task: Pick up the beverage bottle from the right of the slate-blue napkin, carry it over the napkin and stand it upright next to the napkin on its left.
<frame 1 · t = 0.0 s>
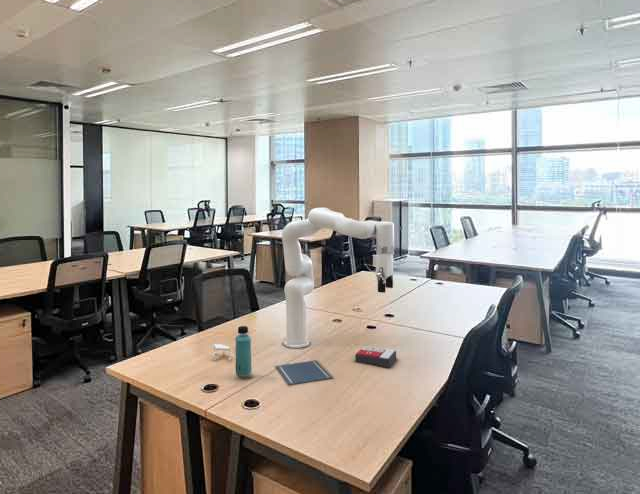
hand: (385, 289, 183), 31 cm above the table, tool pointing down, fingers open, 9 cm apart
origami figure: (222, 358, 189), on the table
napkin: (303, 372, 174), on the table
black buttoned block: (376, 360, 186), on the table
beverage bottle: (243, 377, 170), on the table
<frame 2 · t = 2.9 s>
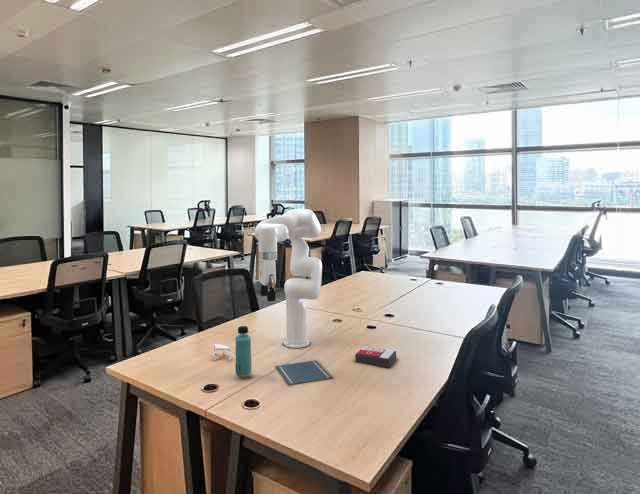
hand: (267, 298, 172), 31 cm above the table, tool pointing down, fingers open, 9 cm apart
nothing on the table moved.
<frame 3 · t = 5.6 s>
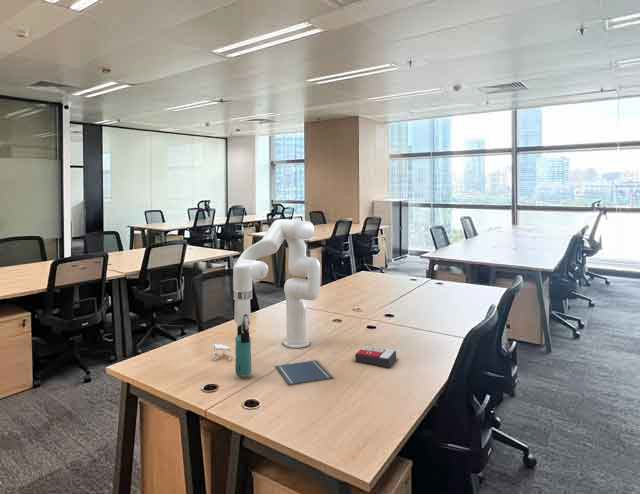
hand: (243, 339, 170), 15 cm above the table, tool pointing down, fingers closed on beverage bottle, 6 cm apart
beverage bottle: (243, 377, 170), on the table, touching gripper
everything else where it was.
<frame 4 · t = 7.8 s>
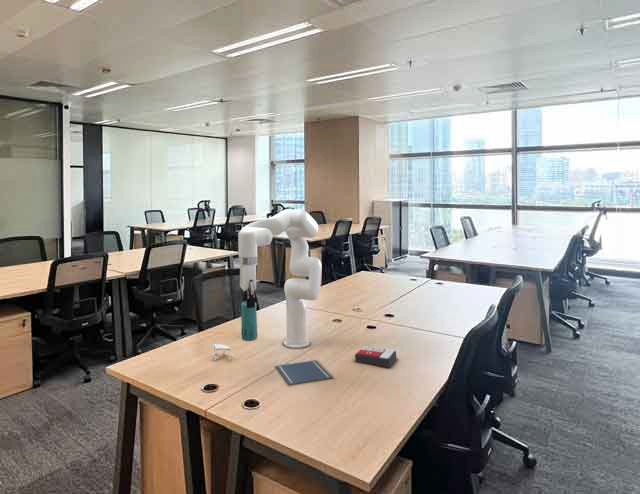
hand: (248, 304, 171), 29 cm above the table, tool pointing down, fingers closed on beverage bottle, 6 cm apart
beverage bottle: (249, 342, 171), point 13 cm above the table, touching gripper
everything else where it was.
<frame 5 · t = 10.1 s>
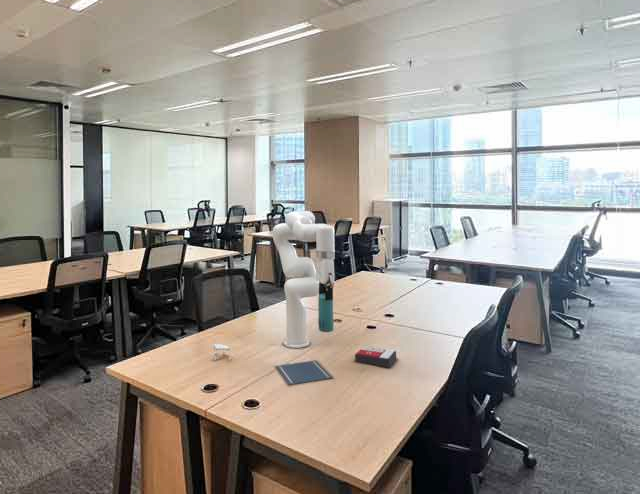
hand: (325, 297, 178), 30 cm above the table, tool pointing down, fingers closed on beverage bottle, 6 cm apart
beverage bottle: (326, 334, 178), point 14 cm above the table, touching gripper
everything else where it was.
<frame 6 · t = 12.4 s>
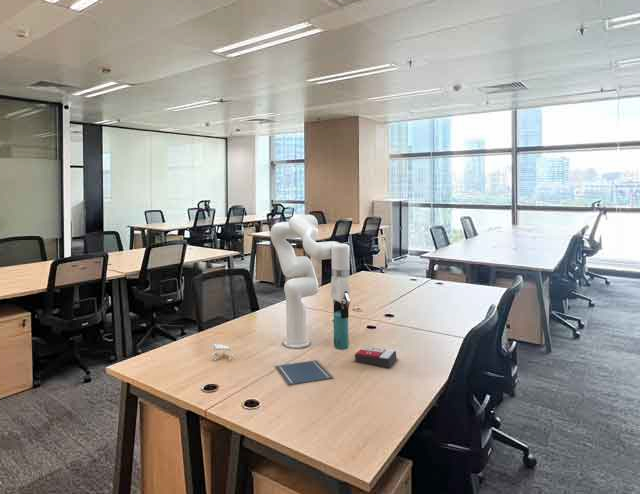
hand: (340, 315, 179), 22 cm above the table, tool pointing down, fingers closed on beverage bottle, 6 cm apart
beverage bottle: (341, 351, 179), point 6 cm above the table, touching gripper
everything else where it was.
when the fingers open (15 cm above the table, at t = 14.5 s): beverage bottle stays where it is, on the table.
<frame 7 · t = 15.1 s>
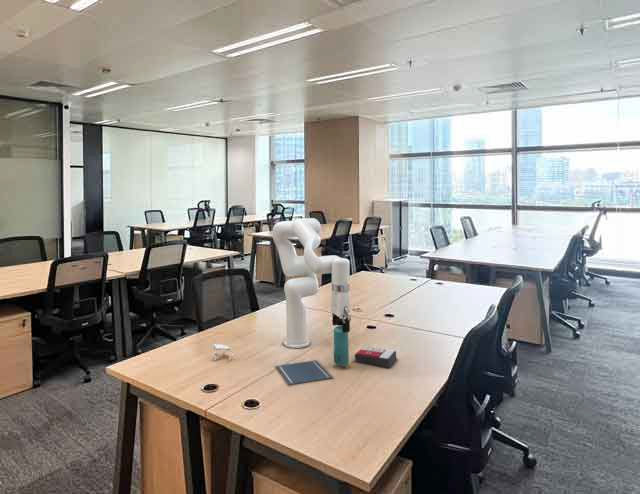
hand: (340, 328, 179), 16 cm above the table, tool pointing down, fingers open, 9 cm apart
beverage bottle: (341, 367, 179), on the table
everything else where it was.
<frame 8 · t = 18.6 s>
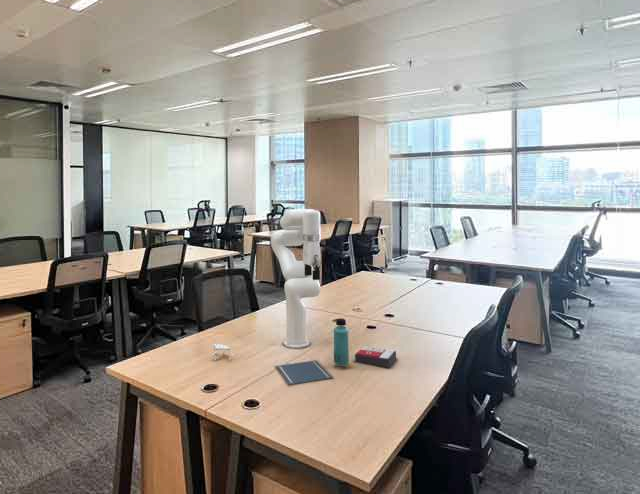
hand: (312, 277, 186), 36 cm above the table, tool pointing down, fingers open, 9 cm apart
nothing on the table moved.
at the end: beverage bottle inside the target area (0.2 cm from its centre), on the table; beverage bottle tilted 0°; the gripper is holding nothing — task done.
